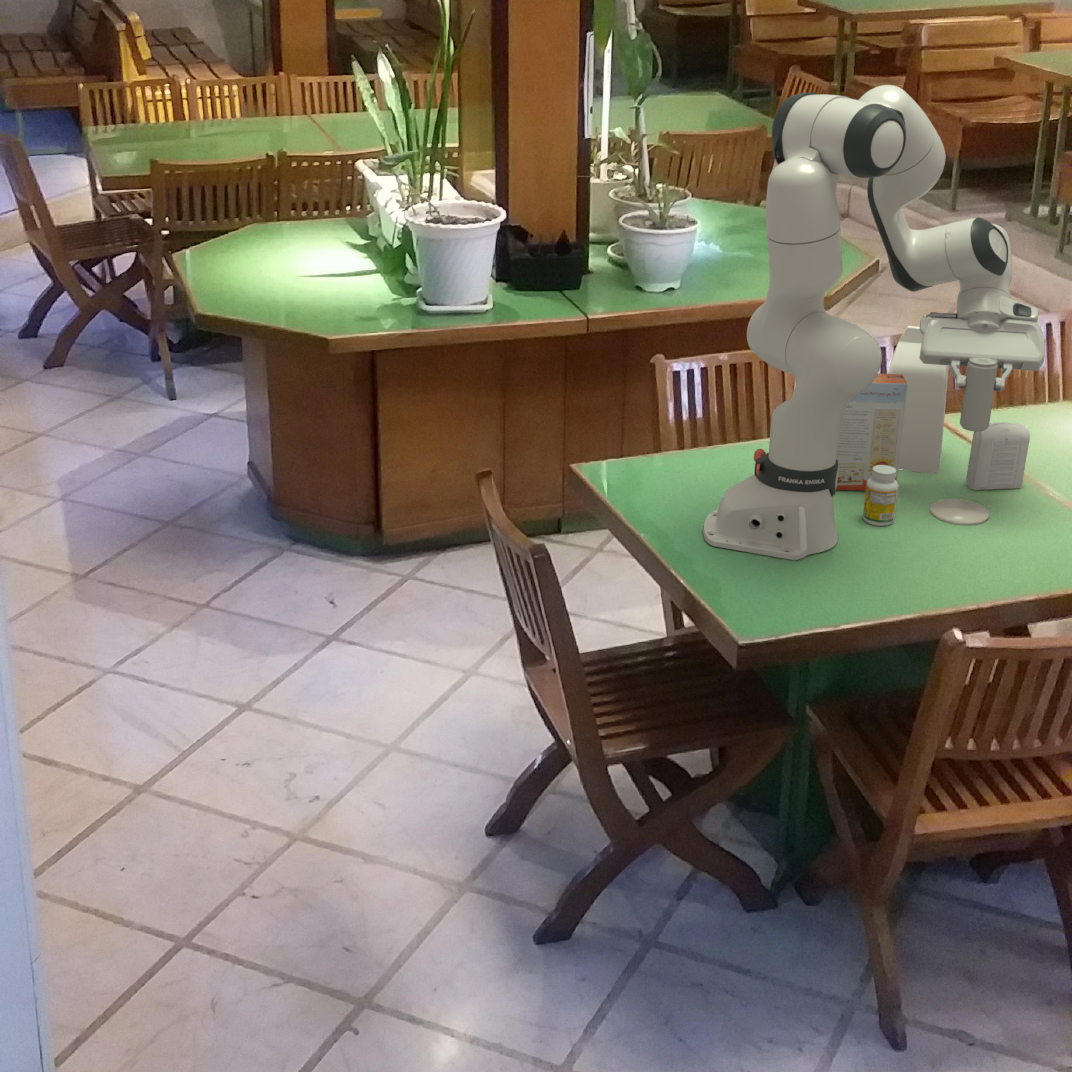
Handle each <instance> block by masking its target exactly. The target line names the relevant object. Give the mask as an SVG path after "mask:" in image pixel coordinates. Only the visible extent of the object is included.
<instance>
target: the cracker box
mask: <svg viewBox="0 0 1072 1072" xmlns="http://www.w3.org/2000/svg"><path fill="white" fill-rule="evenodd" d="M906 391H907V382H906V380H905V378H904V376H903V374H888V373H878V375H877V376H876V378H875V379H874V381H873V382H872V383H871V384H870V385H869V386H868V387H867V388H866V389H864V390H863V391H861V392H859V393H857V394H856V395H855V396H854V397H853V398H852V399H851V400H850V402H849V404H848V405H847V407H846V409H845V412H844V414H843V417H842V421H841V425H840V432H839V439H838V447H837V455H836V459H837V460H838V468H839V469H838V480H837V488H836V491H856V492H857V491H862V492H866V485H867V481H868V480H869V479H870V478H871V477H872V468H873V467H874V466H876V465H887V466H891V467H893V468H895V469H896V477H895V480H896V481H897V478H898V471H899V470H898V462H899V454H900V445H901V436H902V427H903V418H904V409H905V400H906Z"/></svg>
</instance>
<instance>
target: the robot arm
mask: <svg viewBox="0 0 1072 1072" xmlns="http://www.w3.org/2000/svg"><path fill="white" fill-rule="evenodd" d="M771 142H772V143H771V144H772V154H773V157H774V160H775V162H776V163H777V165H776V166H775V167H774V168H773V169H772V171H771V172H770V174H769V176H768V181H767V189H766V198H765V199H766V201H765V224H766V225H765V226H766V237H767V250H768V251H767V252H768V264H769V283H768V284H769V285H768V291H767V294H766V298H765V301H764V302H763V304H761V305H760V306H758V308H757V309H755V310H754V312H753V314H752V315H751V317H750V319H749V321H748V323H747V324H748V325H747V328H746V340H747V345H748V347H749V349H750V350H751V351H752V352H753V353H754V354H755V355H756V356H758V358H760V359H761V360H762V361H764V362H765V363H766V364H768V366H770V367H772V368H775V369H777V370H779V371H782V372H784V373H787V374H789V375H791V376H792V377H794V379H795V386H794V387H795V388H794V390H793V391H794V392H793V394H792V396H791V398H789V399H787V400H785V401H784V402H782V403H780V404H779V405H777V406H776V407H775V409H774V410H773V411H772V414H771V418H770V419H771V421H770V428H769V429H770V430H769V431H770V433H769V444H768V452H767V453H766V451H765V449H763V448H757V449H756V450H755V451H754V453H753V461H754V462H755V464H754V474H752V475H750V476H749V477H747V478H745V479H744V480H741V481H740V482H738V483H736V484H733V486H731V487H729V488H728V489H727V490H726V491H725V493H723V496H722V498H721V500H720V502H719V505H718V509H716V510H713V511H712V512H710V513H709V514H708V515H707V516H706V518H705V520H704V522H703V523H704V524H703V529H702V536H703V538H704V540H705V541H706V542H707V543H708V544H709V545H710V546H713V547H716V548H723V549H728V550H734V551H738V552H739V551H740V552H746V553H751V554H757V555H761V556H767V557H774V558H780V559H784V560H790V561H796V560H801V559H803V558H805V557H807V556H809V555H813V554H818V553H821V552H826V551H828V550H831V549H832V548H833V547H835V546H836V545H837V543H838V541H839V537H838V531H837V528H836V526H837V525H836V519H835V505H834V503H835V502H834V500H835V494H836V491H837V490H836V488H837V480H838V469H839V468H838V460H837V459H836V455H837V447H838V439H839V432H840V425H841V421H842V417H843V414H844V412H845V409H846V407H847V405H848V404H849V402H850V400H851V399H852V398H853V397H854V396H855V395H856V394H857V393H859V392H861V391H863V390H864V389H866V388H867V387H868V386H869V385H870V384H871V383H872V382H873V381H874V379H875V378H876V376H877V375H878V374H879V372H880V369H881V365H882V362H883V361H882V359H883V357H882V355H883V354H882V348H881V345H880V343H879V342H878V340H877V339H876V338H875V337H874V336H873V335H871V334H869V332H868V331H866V330H864V329H863V328H861V327H860V326H859V325H857V324H856V323H852V322H850V321H847V320H844V319H841V318H839V317H836V316H834V315H831V314H829V313H828V312H827V310H826V308H825V304H824V301H825V294H826V292H828V291H829V290H831V289H832V288H834V286H835V285H836V284H837V283H838V282H839V281H840V280H841V277H842V276H843V272H844V267H843V266H844V265H843V252H842V249H843V248H842V235H841V222H840V221H841V220H840V212H839V204H838V198H837V192H836V191H837V188H838V183H839V180H840V177H841V175H843V176H855V177H856V178H862V179H868V181H867V194H866V195H867V201H868V205H869V209H870V211H871V215H872V219H874V222H875V225H876V228H877V230H878V233H879V235H880V238H881V239H880V240H882V243H883V246H884V249H885V252H886V255H887V259H888V263H889V267H890V271H891V274H892V277H893V280H894V281H895V282H896V283H897V284H898V285H900V286H901V287H902V288H904V289H906V290H908V291H910V292H912V293H913V292H918V291H921V290H924V289H925V290H926V289H927V288H932V287H934V286H937V285H942V284H947V283H951V282H956V281H958V282H959V286H960V289H959V292H958V295H957V299H956V312H942V313H941V312H938V311H937V312H936V311H933V312H929V314H925V315H923V316H922V317H921V319H920V321H919V327H920V332H921V333H922V334H923V339H922V344H921V349H920V357H919V358H920V360H921V361H922V362H923V363H924V364H934V365H949V372H950V373H951V375H952V377H953V378H954V380H955V389H960V390H961V389H963V390H964V389H965V386H966V375H964V374H963V375H962V374H961V372H960V370H959V369H960V367H966V368H967V366H968V362H969V359H970V358H971V357H973V356H974V358H990V359H991V358H994V359H996V360H997V364H998V367H997V370H998V369H1000V370H1001V374H1002V375H1001V377H996V381H995V388H994V392H996V391H997V392H1004V390H1005V385H1006V383H1005V382H1006V381H1007V379H1008V378H1009V376H1010V375H1011V372H1012V370H1017V371H1029V372H1030V371H1031V372H1036V371H1038V370H1040V368H1041V367H1042V366H1043V364H1044V362H1045V359H1046V358H1045V357H1046V356H1045V355H1046V351H1045V350H1046V349H1045V348H1046V347H1045V338H1044V332H1043V329H1042V327H1041V325H1040V324H1039V323H1038V320H1039V309H1037V308H1036V307H1034V306H1031V305H1029V304H1026V303H1022V302H1019V301H1017V300H1014V299H1012V296H1011V295H1012V294H1011V291H1010V284H1011V282H1012V277H1013V258H1012V257H1013V256H1012V247H1011V241H1010V237H1009V233H1008V232H1007V231H1006V229H1005V228H1004V227H1002V226H1000V225H998V224H996V223H993V222H992V223H991V221H988V220H987V219H985V218H983V217H973V218H966V219H963V220H962V219H961V220H957V221H954V222H950V223H948V224H942V225H939V226H934V227H929V228H926V229H913V228H910V227H909V224H908V222H907V218H906V215H905V213H904V211H903V209H904V208H905V207H907V206H909V204H911V203H913V202H915V201H917V200H918V199H920V198H922V197H923V196H925V195H926V194H927V193H929V191H931V190H932V189H933V188H934V186H936V184H937V183H938V181H939V179H940V178H941V175H942V174H943V171H944V168H945V164H946V156H947V155H946V150H945V146H944V143H943V141H942V139H941V137H940V135H939V134H938V132H937V129H936V128H935V126H934V125H933V124H932V122H931V120H930V118H929V117H928V116H927V114H926V112H925V111H924V110H923V108H922V107H921V106H920V105H919V104H918V103H917V102H916V101H915V100H914V99H913V97H912V96H910V95H909V94H908V93H907V92H906V91H905V90H904V89H903V88H901V87H899V86H897V85H893V84H885V85H884V84H883V85H878V86H875V87H873V88H871V89H869V90H868V91H866V92H865V93H864V94H862V95H861V96H860V98H858V99H855V98H850V97H849V96H846V95H845V96H844V95H838V94H821V93H817V92H802V93H801V92H800V93H797V94H794V95H791V96H789V97H786V99H784V100H783V101H782V102H781V104H780V105H779V107H778V109H777V111H776V113H775V114H774V118H773V121H772V127H771Z"/></svg>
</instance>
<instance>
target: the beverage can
mask: <svg viewBox="0 0 1072 1072" xmlns="http://www.w3.org/2000/svg"><path fill="white" fill-rule="evenodd" d="M997 367H998V364H997V360H996V359H994V358H991V359H990V358H974V356H973V357H971V358H970V359H969V362H968V366H967V367H966V375H965V376H966V386H965V389H963V396H962V397H963V398H962V403H961V411H960V418H959V424H960V426H961V428H962V429H964V430H966V431H970V432H973V433H974V432H980V431H984V430H986V429H987V428H988V427H989V424H990V423H991V422H990V421H991V413H992V408H993V403H994V402H993V400H994V393H995V391H994V388H995V381H996V378H997V373H998V368H997Z"/></svg>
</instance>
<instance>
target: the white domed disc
mask: <svg viewBox="0 0 1072 1072" xmlns="http://www.w3.org/2000/svg"><path fill="white" fill-rule="evenodd" d="M929 512H930V513H929V514H931V516H933V517H934V518H935V519H937V520H940V521H941V522H945V523H948V524H952V525H959V526H975V525H981V524H984V523H986V522H987V521H988V520H989V518H990V511H989V509H988V508H987V507H985V506H984V505H982V504H979V503H977V502H974V501H971V500H966V499H960V498H944V499H939V500H935V501H934V502H932V503H931V505H930V507H929Z"/></svg>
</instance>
